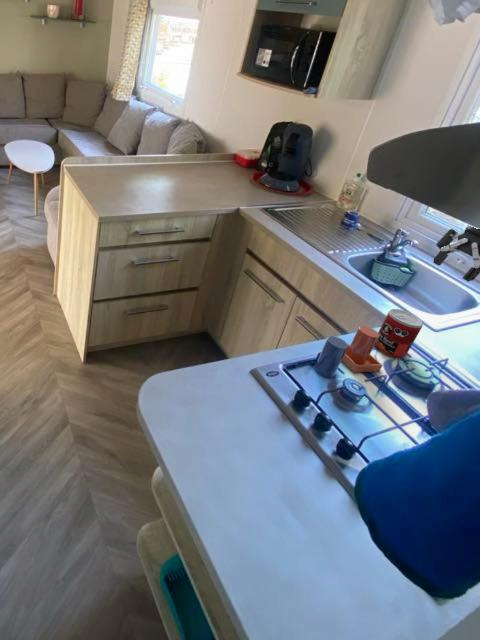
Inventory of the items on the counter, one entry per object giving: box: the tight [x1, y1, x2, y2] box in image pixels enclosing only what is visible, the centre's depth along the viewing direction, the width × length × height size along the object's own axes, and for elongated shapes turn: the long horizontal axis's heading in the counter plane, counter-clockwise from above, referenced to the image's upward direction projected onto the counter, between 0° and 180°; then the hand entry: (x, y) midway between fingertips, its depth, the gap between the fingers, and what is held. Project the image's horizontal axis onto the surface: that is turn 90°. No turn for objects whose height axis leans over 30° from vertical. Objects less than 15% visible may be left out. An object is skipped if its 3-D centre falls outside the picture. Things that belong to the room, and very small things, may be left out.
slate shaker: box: [314, 335, 349, 378], centre depth 104 cm, size 5×5×9 cm
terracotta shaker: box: [346, 325, 379, 365], centre depth 109 cm, size 5×5×9 cm
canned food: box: [374, 308, 424, 359], centre depth 116 cm, size 8×8×11 cm
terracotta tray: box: [341, 344, 383, 373], centre depth 111 cm, size 8×8×2 cm
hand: (450, 272), depth 115 cm, fingers open, 8 cm apart
